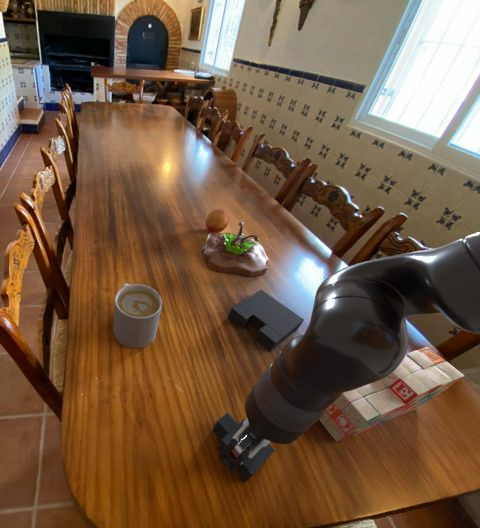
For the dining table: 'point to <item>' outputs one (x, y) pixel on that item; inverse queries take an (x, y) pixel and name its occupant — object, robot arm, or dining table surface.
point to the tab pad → (228, 429)
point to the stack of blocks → (390, 394)
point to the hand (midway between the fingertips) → (244, 446)
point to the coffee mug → (136, 315)
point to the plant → (235, 253)
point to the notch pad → (266, 319)
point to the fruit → (216, 221)
